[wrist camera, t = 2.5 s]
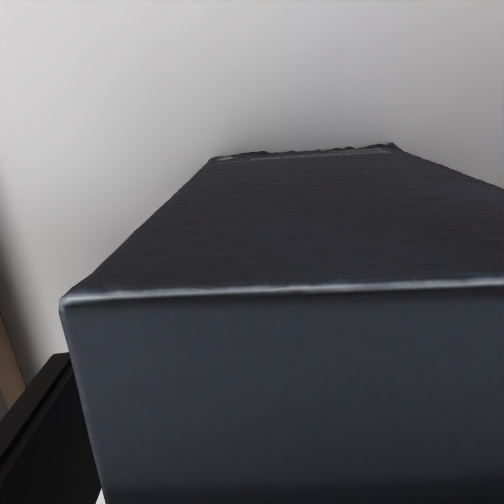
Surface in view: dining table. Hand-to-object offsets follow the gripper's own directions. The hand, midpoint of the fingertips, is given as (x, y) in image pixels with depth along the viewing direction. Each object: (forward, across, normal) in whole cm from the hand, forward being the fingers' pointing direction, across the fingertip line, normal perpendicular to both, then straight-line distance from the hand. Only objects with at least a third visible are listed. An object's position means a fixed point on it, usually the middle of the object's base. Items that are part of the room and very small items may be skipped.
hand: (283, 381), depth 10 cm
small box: (+5, -1, 0) cm, 5 cm away
